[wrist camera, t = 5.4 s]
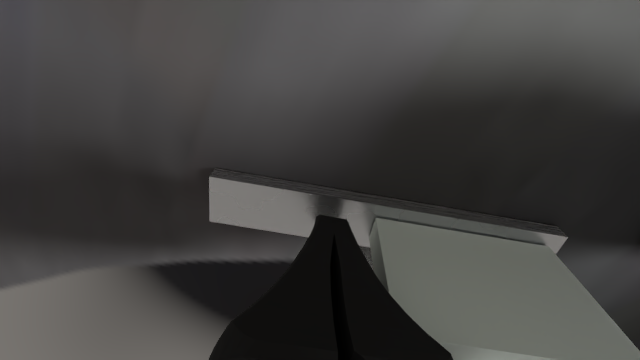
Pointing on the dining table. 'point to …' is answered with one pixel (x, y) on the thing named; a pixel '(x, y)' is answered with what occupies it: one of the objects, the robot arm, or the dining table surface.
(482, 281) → the grey flat block
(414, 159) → the dining table surface
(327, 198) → the rail
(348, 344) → the robot arm
